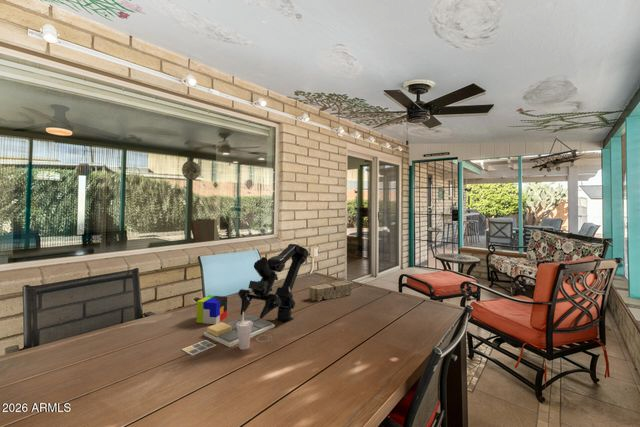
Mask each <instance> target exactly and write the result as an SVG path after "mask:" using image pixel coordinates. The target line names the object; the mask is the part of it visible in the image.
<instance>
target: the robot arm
mask: <svg viewBox="0 0 640 427" xmlns="http://www.w3.org/2000/svg"><path fill="white" fill-rule="evenodd" d="M308 257H309V251H308V249H307V248H305V247H303V246H300V245H299V244H297V243H296V244H295V243H289V244H288V246H287V247H286V248H285V249H283V250H282V251H281V252H279V254H277V255H275V256H271V257H270V258H267V257H264V256H262V257H261V258H260V259H258V260H256V261H255V262H254V264H253V268H254V270H255V271H256V273H257V274H258V276H259V277H261V279H260V280H258V281H254V280H249V283H248V289H244V288H240V289H239V291H238V292H237V295H238V297H239V298H240V299H241V308H240V315H241V316H243V312H244V313H245V312H246V311H247V309H248V308H249V306H250V304H251V301H252V300H258V301H259V300H260V301H264V302H265V303H264V306H263V308H262V311H261V313H260V316H259V318H260V319H263V318H264V317H265V316H266V315H268V314H269V313H271V311H273V310H274V309H277V317H276V318H275V320H276V321H279V322H282V323H288V322H290V321H292V320H294V317H292V310H293V309H295V306H296V302H295V300H294V299H293V298H294V295H293V287H294V284H295V282H296V279H297V276H298V275H299V270H300V268H301V265H303V264H304V263H305V262H306V261H307V258H308ZM290 259H291V263H290V266H289V268H288V271H287V274H286V276H285V279H284V281H283V284H282V286H281V287H279V286H278V287H277V289H276V291H275V293H270V292H273V285H274V284H275V281H278V280H279V277H278V274H277V272H278V273H281V272H282V271H283V270H284V268H285V267H286V263H287V262H288V261H289V260H290ZM249 289H250V290H251V291H252V293H251V291H250V290H249Z"/></svg>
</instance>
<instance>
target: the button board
mask: <svg viewBox="0 0 640 427" xmlns="http://www.w3.org/2000/svg"><path fill="white" fill-rule="evenodd" d="M242 319H243V317H240V318H238V319H235V320H232V321H229V322H226V323H225V324H228V325H230V326H232V331H229V332H227V333H224V334H222V335H219V337H216V336H214V335H212V334H210V333H208V332H207V331H205V332H203V336H204V337H207V338H209V339H211V340H213V341H216V342H218V343H220V344H222V345H224V346H226V347H228V348H231V347H233V346H235V345H239V341H238V332H237V327H236V323H237V322H238V321H241V320H242ZM244 320H250V321H252V322H253V326H252V329H251V336H250V339H251V338H253V337H255V336H257V335H259V334H261V333H262V334H263V333H264V332H266V331H269V330H271V329H273V328H275V325H276V324H274V323H273V322H271V321H268V320H265V319H263V318H262V319H260V317H257V316H255V315H250V314H248V315H246V316H245V315H244Z"/></svg>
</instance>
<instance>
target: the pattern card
mask: <svg viewBox="0 0 640 427" xmlns="http://www.w3.org/2000/svg"><path fill="white" fill-rule="evenodd" d="M216 346H217V344H215V343H212V342H210V341H209V340H207V339H205V340H202V341H199V342H197V343H194V344H192V345H190V346H187V347H184V348H182V349H181V350H182V351H183V352H184V353H187V354H189V355H190V356H192V357H193V356H196V355H198V354H200V353H202V352H204V351H205V352H206V351H207V350H209V349H211V348H214V347H216Z"/></svg>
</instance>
